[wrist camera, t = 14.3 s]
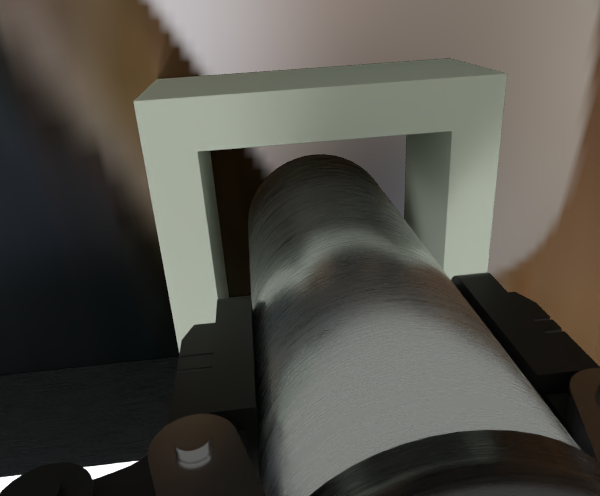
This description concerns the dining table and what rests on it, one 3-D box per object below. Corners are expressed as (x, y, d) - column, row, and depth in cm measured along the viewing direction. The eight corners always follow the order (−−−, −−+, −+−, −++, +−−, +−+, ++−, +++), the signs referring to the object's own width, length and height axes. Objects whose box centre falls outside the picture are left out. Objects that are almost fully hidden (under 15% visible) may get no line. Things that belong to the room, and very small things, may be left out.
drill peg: (251, 293, 18) (278, 856, 6) (237, 157, 16) (234, 597, 4) (388, 279, 18) (665, 790, 6) (390, 145, 16) (791, 520, 4)
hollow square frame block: (197, 331, 20) (188, 404, 16) (156, 78, 16) (133, 101, 13) (435, 306, 21) (477, 371, 17) (449, 58, 17) (507, 73, 13)
